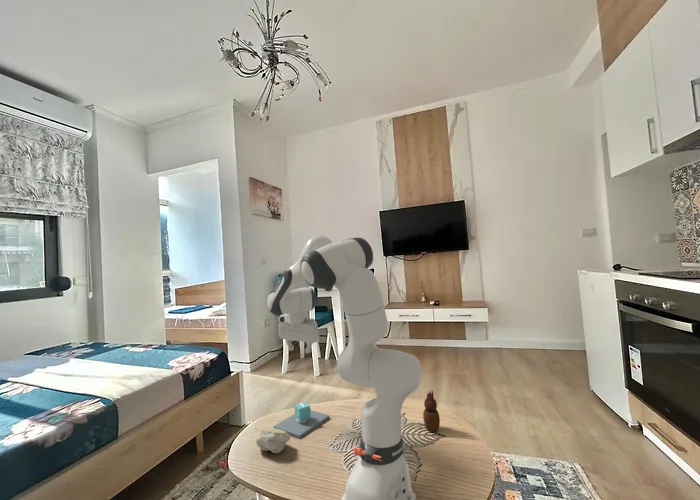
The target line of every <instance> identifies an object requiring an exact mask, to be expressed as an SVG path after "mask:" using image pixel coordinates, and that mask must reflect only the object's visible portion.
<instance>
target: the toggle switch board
mask: <svg viewBox="0 0 700 500" xmlns="http://www.w3.org/2000/svg"><path fill="white" fill-rule="evenodd" d="M310 412H311V418H310V419H307V420H304V421H301V422H299V421H298V420H297V419H296V418H295V413H294V414H293V415H291V416H289V417H287V418H285V419H284V420H281V422H278V423H277V424H275V425H273V428H276V429H280V430H283V431H286V432H287V434H289V435H290V437H293V438H295V439H298V440H300V439H301V438H303V437H304V436H306V435H307V434H309V433H310V432H311V431H313V430H314V429H316V428H317V427H319V426H321V425H322V424H324V423H325V422H326V421H328V420H329V419H330V415H328V414H326V413H322V412H319V411H316V410H313V409H310Z"/></svg>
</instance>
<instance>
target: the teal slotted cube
mask: <svg viewBox="0 0 700 500" xmlns="http://www.w3.org/2000/svg"><path fill="white" fill-rule="evenodd" d="M310 410H311V405H310V404H309V403H308V402H306V401H303V402H300V403H297V404H294V414H295V418H296V419H297V420H298V421H299V422H301V421H304V420H307V419H310V418H311V412H310Z"/></svg>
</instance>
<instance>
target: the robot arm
mask: <svg viewBox="0 0 700 500" xmlns="http://www.w3.org/2000/svg"><path fill="white" fill-rule="evenodd" d="M373 262H374V252H373V249H372V246H371V245H370V243H369V242H368V241H367V240H366V239H365V238H362V237H349V238H347V239H343V240H340V241H336V242H333V241H332V240H331V239H330V238H328V237H326V236H323V235H315V236H313V237H311V238H310V239H308V241H307V242H306V244H305V245H304V247H303V248H302V250H301V252H300V255H299V258H298V260H297V261H296V262H295V263H293V264H292V265H291V266H290V267H288V268H286V269H285V270H284V271H283V273H282V274H281V275H280V277H279V279H278V280H277V283H276V284H275V286H274V288H273V289H272V290H271V291H270V292H269V294H268V296H267V302H266V303H267V308H268V309H267V310H268V311H269V312H270V313H271V314H272V315H274V316H276V317H278V316H279V317H278V318H277V319H278V322H279V323H278V337H279V339H280V340H285V343H286V345H287V347H288V348H287V349H288V351H289V352H290V351H294V350H295V347H294V346H295V345H293V343H292V341H293V342H295V341H296V342H303V343H305V345H306V348H304V353H305V354H310V353H311V349H312V348H311V347H312V346H313V344H315V343H317V342H319V341H320V332H319V327H318V322H317V321H316V319H314V318H309V312H311V311H313V310H314V309H315V308H316V306H317V293H316V291H315V290H313V289H312V288H315V289H317V290H318V289H320V290H325V291H326V292H331V291H332V290H333V288H336V290H338V291H339V293H340V296H341V301H342V307H343V311H344V315H345V319H346V324H347V331H348V342H347V346H346V347H345V348H344V349H343V350H342V351H341V352H340V353H339V355H338V358H337V363H336V366H337V367H336V369H337V372H338V375H339V377H340V378H341V379H342V380H344V381H345V382H346V381H347V382H349V383H350V384H351V385H352V384H353V385H355V386H360V387H365V388H370V389H373V390H375V392H376V396H375V397H374V398H372V399H370V400H368V401H367V402H365V404H364V405H363V407H362V409H361V411H360V417H361V418H360V420H361V422H360V423H361V437H360V442H359V446H358V445H357V446H356V445H355V447H354V448H353V455H355V456H358V457H357V459H356V461H355V463H354V465H353V468H352V469H351V472H350V474H349V476H348V479H347V481H346V484H345V492H344V494H343V495H342V497H341V499H340V500H417V496H416V493H415V492H414V491H413V490H412V485H411V477H410V469H409V465H408V463H407V461H406V458H405V456H404V446H405V445H404V440H403V435H402V431H401V429H402V428H401V417H402V416H401V415H402V413H401V412H402V406H403V404H404V403H405V400H406V399H407V397H409V395H411V394H412V393H414V392H415V391H416V390H417V389H418V387H420V385H421V382H422V380H423V379H422V378H423V369H422V365H421V363H420V360H419V359H418V358H417V356H416V355H413V354H410V353H409V352H405V351H402V350H396V349H388V348H380V347H378V346H377V344H376V343H378V342H379V341H381V340H382V339H383V338H385V336H386V335H387V333H388V328H389V322H388V317H387V313H386V308H385V303H384V299H383V295H382V291H381V289H380V285H379V283H378V280H377V277H376V275H375V274H374V272H373V271H372V270H371V269H369V268H370V267H371V265H372V264H373ZM311 287H312V288H311Z"/></svg>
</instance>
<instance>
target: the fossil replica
mask: <svg viewBox="0 0 700 500" xmlns="http://www.w3.org/2000/svg"><path fill="white" fill-rule="evenodd" d="M290 440H291V436H290V435H289V434H287V432H286V431H283V430H280V429H276V428H274V427H268V428H266V427H265V428H263V429H262V430H261V432H260V433H259V434H258V436H257V437H256V440H255V443H256V445H257V447H258V448H259V449H260V450H261V451H263V452H264V451H266V452H268V451H270V452H271V453H272V454H280V453H281V452H282V451H283V450H284V449H285V447H286V443H288V442H289V441H290Z"/></svg>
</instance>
